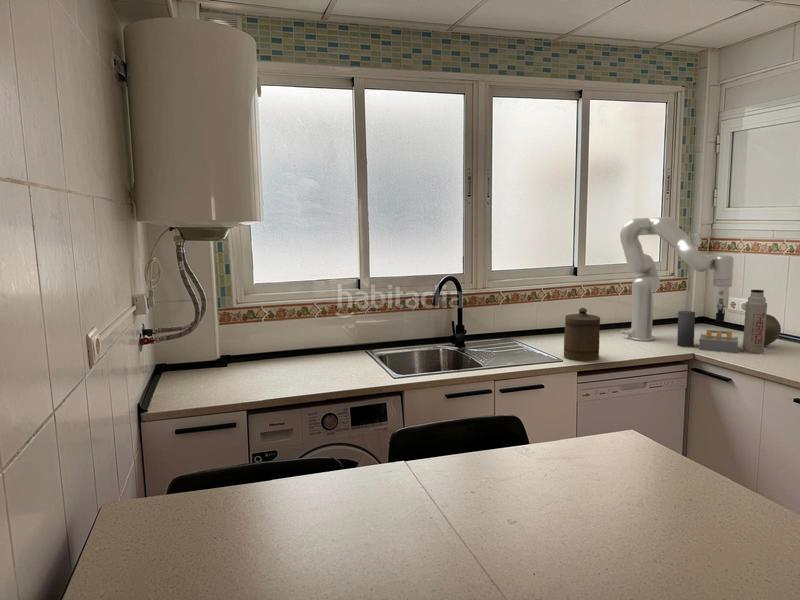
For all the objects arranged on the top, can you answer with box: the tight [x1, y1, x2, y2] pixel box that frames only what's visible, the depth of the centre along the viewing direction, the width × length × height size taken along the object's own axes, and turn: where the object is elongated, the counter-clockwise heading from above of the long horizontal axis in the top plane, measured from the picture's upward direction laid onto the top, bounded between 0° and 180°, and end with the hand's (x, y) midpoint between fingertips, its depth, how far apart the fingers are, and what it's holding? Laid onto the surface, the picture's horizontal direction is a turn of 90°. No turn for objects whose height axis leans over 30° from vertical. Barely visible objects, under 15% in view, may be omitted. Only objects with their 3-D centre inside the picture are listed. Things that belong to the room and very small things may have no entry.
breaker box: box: [698, 333, 739, 354], centre depth 259 cm, size 15×12×5 cm
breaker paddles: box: [706, 329, 733, 339], centre depth 258 cm, size 10×2×3 cm, turn 59°
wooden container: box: [563, 307, 601, 362], centre depth 248 cm, size 15×15×22 cm
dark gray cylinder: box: [676, 310, 696, 348], centre depth 265 cm, size 7×7×16 cm
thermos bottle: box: [742, 289, 768, 355], centre depth 251 cm, size 8×8×28 cm
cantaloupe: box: [764, 313, 782, 347], centre depth 262 cm, size 14×14×15 cm
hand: (720, 320), depth 258 cm, fingers open, 9 cm apart
